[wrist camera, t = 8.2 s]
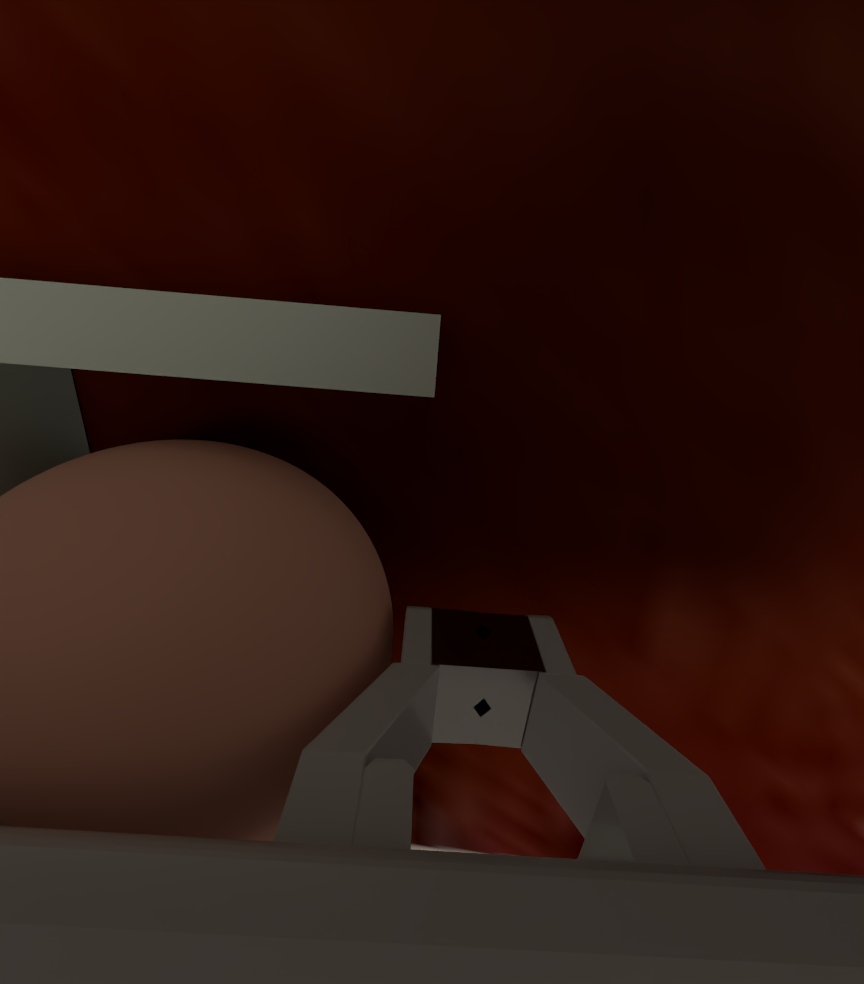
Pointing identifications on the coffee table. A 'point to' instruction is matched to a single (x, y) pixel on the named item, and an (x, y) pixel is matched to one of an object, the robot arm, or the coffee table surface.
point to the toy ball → (177, 638)
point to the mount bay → (183, 354)
